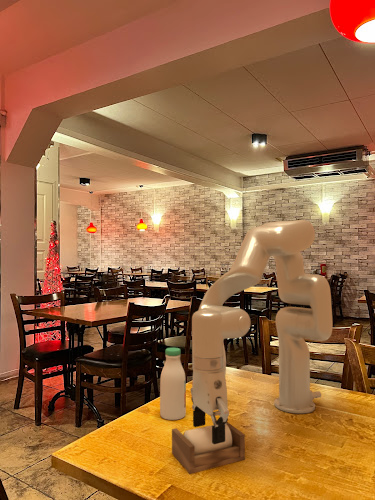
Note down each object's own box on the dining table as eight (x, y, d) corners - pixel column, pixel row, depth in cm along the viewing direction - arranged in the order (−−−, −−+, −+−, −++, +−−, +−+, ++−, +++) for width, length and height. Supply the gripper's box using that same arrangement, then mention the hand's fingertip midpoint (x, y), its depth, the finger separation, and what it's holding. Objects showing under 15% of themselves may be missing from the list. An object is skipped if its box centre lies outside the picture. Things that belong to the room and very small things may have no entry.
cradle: (223, 441, 101) (223, 418, 101) (244, 459, 92) (244, 434, 92) (171, 453, 95) (171, 429, 95) (189, 473, 86) (189, 447, 86)
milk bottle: (182, 421, 113) (182, 352, 114) (157, 419, 115) (157, 351, 115) (188, 411, 121) (188, 346, 121) (163, 409, 122) (163, 345, 123)
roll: (220, 443, 98) (220, 419, 99) (233, 453, 93) (233, 428, 93) (182, 452, 94) (182, 426, 94) (193, 463, 89) (193, 436, 89)
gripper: (240, 369, 88) (241, 446, 88) (205, 352, 103) (205, 417, 103) (211, 374, 85) (212, 453, 84) (179, 355, 100) (179, 423, 100)
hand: (208, 433), depth 94 cm, fingers open, 9 cm apart
